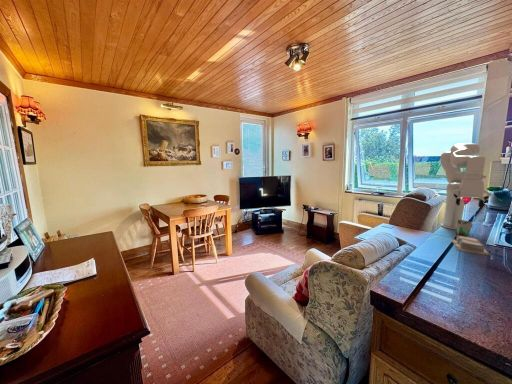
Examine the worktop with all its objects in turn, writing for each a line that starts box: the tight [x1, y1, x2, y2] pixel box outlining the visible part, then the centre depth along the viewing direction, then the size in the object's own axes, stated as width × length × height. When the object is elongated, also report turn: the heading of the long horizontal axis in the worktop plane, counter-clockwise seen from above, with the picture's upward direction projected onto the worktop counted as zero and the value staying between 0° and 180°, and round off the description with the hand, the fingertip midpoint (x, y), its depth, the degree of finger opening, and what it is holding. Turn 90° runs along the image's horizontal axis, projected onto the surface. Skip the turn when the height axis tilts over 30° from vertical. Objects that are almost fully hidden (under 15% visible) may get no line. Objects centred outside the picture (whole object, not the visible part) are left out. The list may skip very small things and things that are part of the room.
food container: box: [455, 219, 473, 237], centre depth 135 cm, size 12×6×10 cm, turn 143°
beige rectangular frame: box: [451, 235, 490, 256], centre depth 121 cm, size 16×12×4 cm
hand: (468, 206), depth 132 cm, fingers open, 9 cm apart
